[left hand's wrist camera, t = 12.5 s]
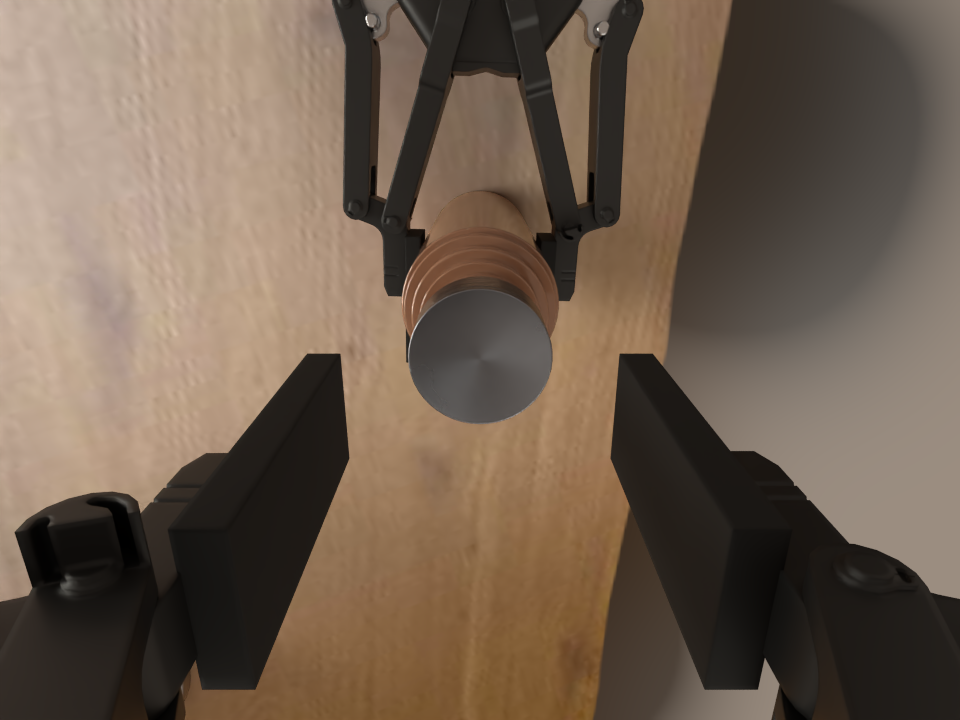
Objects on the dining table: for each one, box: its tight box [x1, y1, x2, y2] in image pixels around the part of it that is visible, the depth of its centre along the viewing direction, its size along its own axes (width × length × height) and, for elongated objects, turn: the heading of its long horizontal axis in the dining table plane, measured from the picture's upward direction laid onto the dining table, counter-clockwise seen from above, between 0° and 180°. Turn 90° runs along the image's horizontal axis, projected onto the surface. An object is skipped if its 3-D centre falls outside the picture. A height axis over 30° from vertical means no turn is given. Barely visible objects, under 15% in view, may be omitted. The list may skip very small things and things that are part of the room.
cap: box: [408, 276, 552, 424], centre depth 18 cm, size 4×4×2 cm
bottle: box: [402, 191, 559, 338], centre depth 27 cm, size 6×6×21 cm
